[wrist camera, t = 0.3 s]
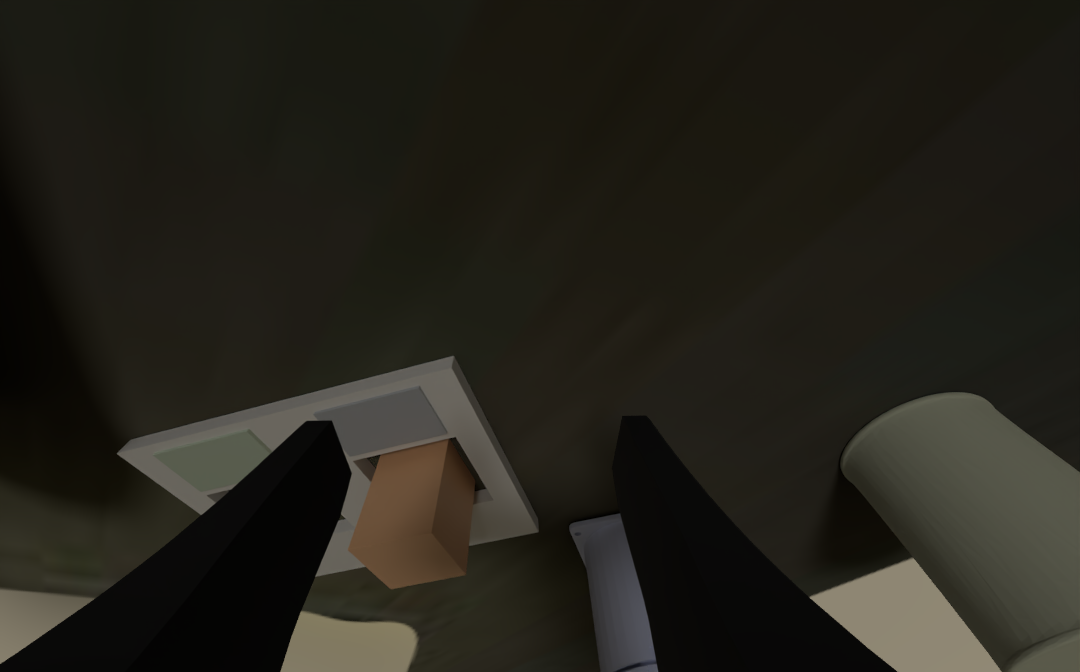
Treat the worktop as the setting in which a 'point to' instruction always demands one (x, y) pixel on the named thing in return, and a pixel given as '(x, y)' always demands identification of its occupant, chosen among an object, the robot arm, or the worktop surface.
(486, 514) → the panel
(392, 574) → the plug
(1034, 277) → the worktop surface
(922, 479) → the can
